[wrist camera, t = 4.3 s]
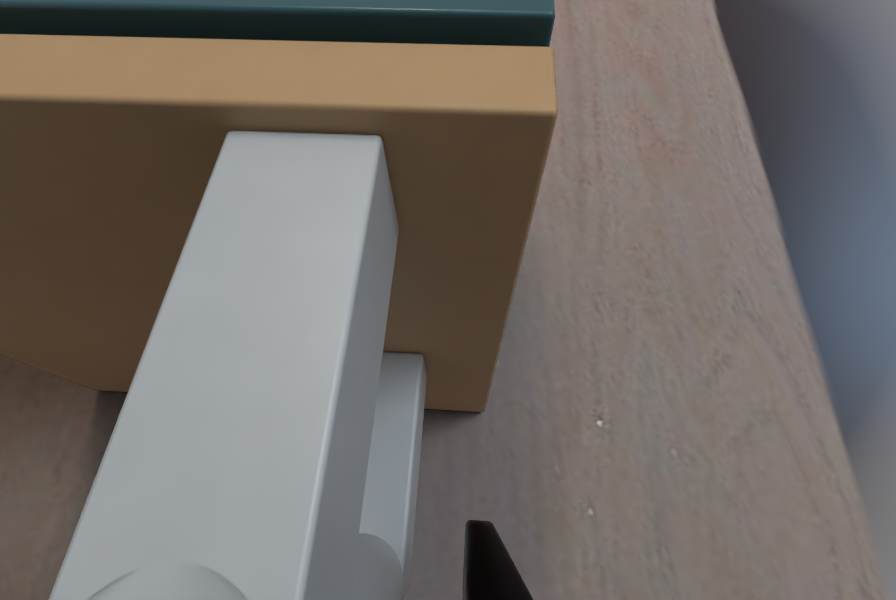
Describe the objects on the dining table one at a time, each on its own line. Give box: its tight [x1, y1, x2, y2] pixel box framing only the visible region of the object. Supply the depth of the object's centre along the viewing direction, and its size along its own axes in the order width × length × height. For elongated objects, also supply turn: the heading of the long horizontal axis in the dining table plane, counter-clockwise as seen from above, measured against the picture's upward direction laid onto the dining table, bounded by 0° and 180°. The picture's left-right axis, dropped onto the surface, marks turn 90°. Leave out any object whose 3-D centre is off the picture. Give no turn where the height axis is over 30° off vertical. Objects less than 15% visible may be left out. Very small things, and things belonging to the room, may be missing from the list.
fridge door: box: [0, 34, 558, 600], centre depth 9 cm, size 6×14×12 cm, turn 87°
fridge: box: [0, 0, 555, 47], centre depth 13 cm, size 10×14×13 cm
